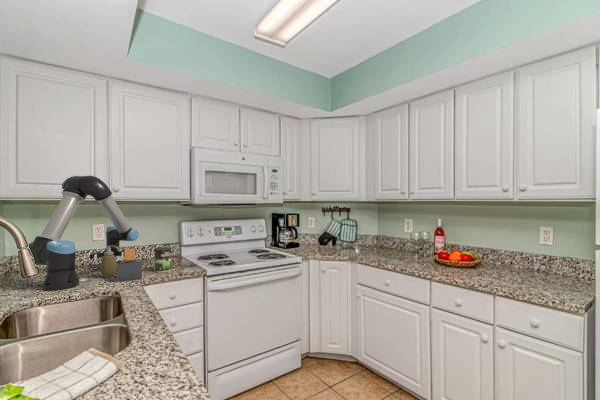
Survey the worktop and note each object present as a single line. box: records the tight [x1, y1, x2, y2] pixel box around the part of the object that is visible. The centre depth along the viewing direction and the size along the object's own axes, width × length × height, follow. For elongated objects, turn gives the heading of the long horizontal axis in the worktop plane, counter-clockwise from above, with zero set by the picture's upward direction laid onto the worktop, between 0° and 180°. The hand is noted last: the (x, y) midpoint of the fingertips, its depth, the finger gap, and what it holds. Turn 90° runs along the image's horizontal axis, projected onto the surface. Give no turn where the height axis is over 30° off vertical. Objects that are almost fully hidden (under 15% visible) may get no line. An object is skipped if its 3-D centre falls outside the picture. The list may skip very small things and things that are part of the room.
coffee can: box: [153, 246, 173, 273], centre depth 192 cm, size 10×10×14 cm
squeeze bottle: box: [100, 246, 117, 279], centre depth 177 cm, size 8×8×18 cm
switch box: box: [116, 258, 143, 283], centre depth 172 cm, size 12×8×10 cm, turn 118°
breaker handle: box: [122, 248, 136, 262], centre depth 170 cm, size 6×4×7 cm, turn 118°
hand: (108, 257), depth 176 cm, fingers open, 13 cm apart
